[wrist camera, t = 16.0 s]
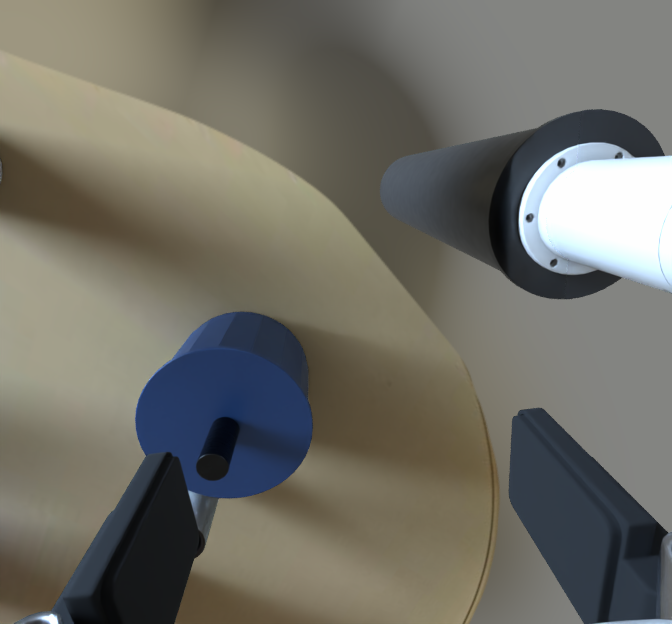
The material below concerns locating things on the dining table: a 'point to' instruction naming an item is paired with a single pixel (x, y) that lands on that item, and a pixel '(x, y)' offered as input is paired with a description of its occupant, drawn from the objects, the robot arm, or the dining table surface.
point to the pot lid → (226, 420)
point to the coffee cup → (0, 170)
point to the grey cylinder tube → (203, 516)
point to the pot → (253, 340)
